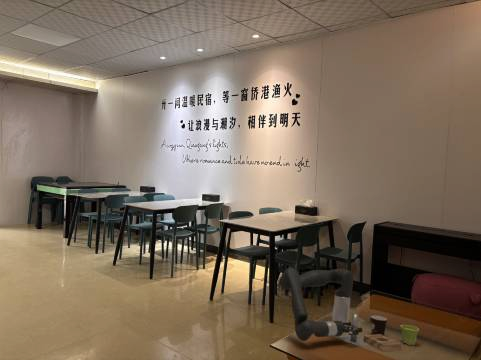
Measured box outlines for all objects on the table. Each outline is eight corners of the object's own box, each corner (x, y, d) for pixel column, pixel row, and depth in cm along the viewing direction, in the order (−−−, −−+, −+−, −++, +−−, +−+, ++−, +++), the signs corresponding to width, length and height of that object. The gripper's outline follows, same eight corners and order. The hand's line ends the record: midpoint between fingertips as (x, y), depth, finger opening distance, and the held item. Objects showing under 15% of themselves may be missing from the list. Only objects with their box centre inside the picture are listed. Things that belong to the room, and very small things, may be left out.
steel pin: (349, 340, 201) (350, 313, 202) (353, 340, 203) (355, 313, 204) (353, 342, 198) (355, 315, 199) (357, 342, 200) (359, 315, 201)
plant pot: (415, 348, 200) (416, 331, 201) (397, 342, 206) (398, 326, 207) (420, 344, 207) (421, 328, 208) (403, 339, 213) (403, 323, 214)
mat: (337, 337, 206) (337, 336, 206) (351, 336, 210) (351, 335, 210) (355, 346, 193) (355, 346, 193) (370, 345, 198) (370, 344, 198)
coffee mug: (387, 339, 210) (388, 321, 211) (370, 337, 212) (372, 318, 213) (383, 333, 222) (384, 315, 222) (368, 330, 223) (369, 313, 224)
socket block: (363, 342, 202) (363, 335, 202) (380, 340, 207) (380, 334, 207) (383, 352, 189) (383, 345, 190) (400, 350, 194) (401, 343, 195)
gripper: (322, 331, 201) (346, 329, 208) (340, 341, 188) (365, 339, 195) (323, 317, 201) (347, 315, 208) (341, 325, 188) (366, 324, 195)
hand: (356, 327), depth 201 cm, fingers open, 8 cm apart
